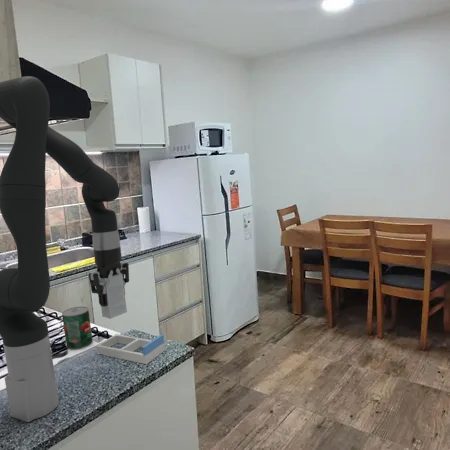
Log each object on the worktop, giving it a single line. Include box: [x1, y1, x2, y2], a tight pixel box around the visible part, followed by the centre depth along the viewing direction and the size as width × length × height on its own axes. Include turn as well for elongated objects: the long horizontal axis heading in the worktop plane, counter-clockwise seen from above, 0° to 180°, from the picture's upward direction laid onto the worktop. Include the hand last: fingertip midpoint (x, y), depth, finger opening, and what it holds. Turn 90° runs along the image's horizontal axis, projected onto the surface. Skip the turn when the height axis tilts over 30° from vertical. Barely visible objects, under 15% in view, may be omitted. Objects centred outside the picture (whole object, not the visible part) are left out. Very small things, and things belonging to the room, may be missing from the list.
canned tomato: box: [61, 305, 94, 351], centre depth 125 cm, size 8×8×11 cm
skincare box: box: [100, 274, 128, 319], centre depth 117 cm, size 6×4×12 cm
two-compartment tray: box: [95, 333, 166, 365], centre depth 117 cm, size 9×19×5 cm, turn 62°
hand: (112, 302), depth 117 cm, fingers closed on skincare box, 6 cm apart
